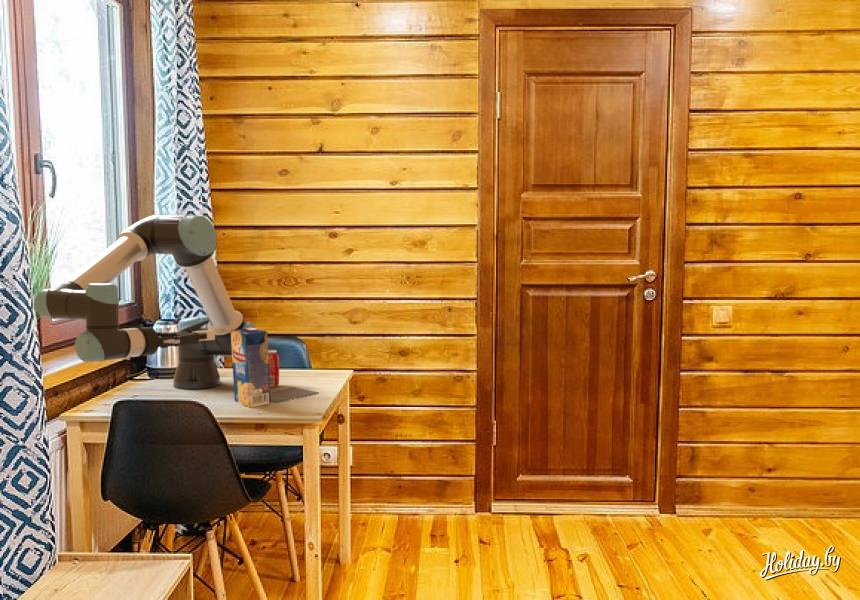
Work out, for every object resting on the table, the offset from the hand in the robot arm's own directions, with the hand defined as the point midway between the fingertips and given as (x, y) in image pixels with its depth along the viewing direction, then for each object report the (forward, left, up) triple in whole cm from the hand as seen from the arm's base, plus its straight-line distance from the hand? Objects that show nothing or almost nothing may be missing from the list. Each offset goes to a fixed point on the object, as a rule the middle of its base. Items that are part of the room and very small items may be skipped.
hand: (213, 334), depth 214 cm
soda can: (-14, +32, -23) cm, 42 cm away
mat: (0, +27, -22) cm, 35 cm away
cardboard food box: (0, +14, -22) cm, 26 cm away
